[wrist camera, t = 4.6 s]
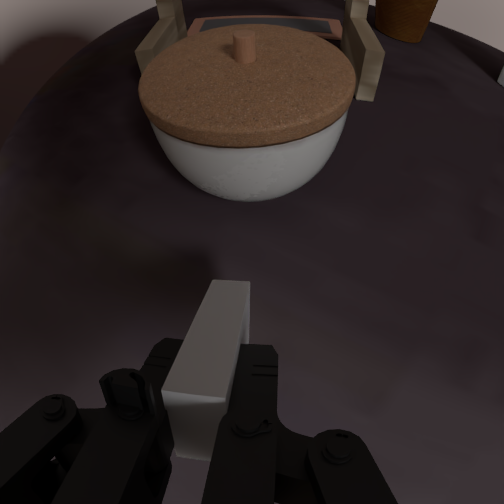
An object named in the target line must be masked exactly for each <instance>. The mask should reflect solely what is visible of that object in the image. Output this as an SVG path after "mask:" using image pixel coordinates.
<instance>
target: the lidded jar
mask: <svg viewBox="0 0 504 504" xmlns="http://www.w3.org/2000/svg"><path fill="white" fill-rule="evenodd" d="M355 85H356V75H355V71H354V68H353V66H352V65H351V63H350V61H349V59H348V58H347V57H346V56H345V55H344V54H343V52H342V51H340V50H339V49H338V48H337V47H336V46H334V45H333V44H331V43H330V42H328V41H326V40H324V39H322V38H320V37H318V36H316V35H314V34H311V33H308V32H305V31H302V30H298V29H294V28H290V27H285V26H278V25H269V24H240V25H231V26H224V27H219V28H214V29H209V30H206V31H203V32H199V33H196V34H194V35H191V36H188V37H186V38H184V39H182V40H180V41H178V42H176V43H174V44H172V45H171V46H169V47H167V48H166V49H164V50H163V51H162V52H160V53H159V54H158V55H157V56H156V57H155V58H154V59H153V60H152V61H151V62H150V63H149V64H148V65H147V67H146V68H145V70H144V72H143V74H142V76H141V78H140V81H139V87H138V93H139V98H140V101H141V104H142V107H143V109H144V111H145V113H146V115H147V117H148V119H149V120H150V122H151V125H152V128H153V130H154V133H155V135H156V138H157V140H158V141H159V143H160V145H161V147H162V149H163V150H164V152H165V154H166V156H167V157H168V159H169V160H170V162H171V163H172V164H173V165H174V167H175V168H176V169H177V170H178V171H179V172H180V173H181V175H182V176H184V177H185V178H186V179H187V180H189V181H190V182H191V183H192V184H194V185H195V186H196V187H198V188H200V189H202V190H203V191H205V192H207V193H210V194H212V195H215V196H218V197H221V198H224V199H228V200H234V201H244V202H252V201H264V200H269V199H274V198H277V197H280V196H283V195H286V194H288V193H290V192H292V191H294V190H296V189H298V188H300V187H301V186H302V185H304V184H305V183H307V182H308V181H310V180H311V179H312V178H313V177H314V176H315V175H316V174H317V173H318V172H319V171H320V170H321V169H322V168H323V166H324V165H325V164H326V162H327V161H328V159H329V158H330V156H331V154H332V153H333V151H334V149H335V147H336V145H337V142H338V140H339V137H340V135H341V133H342V130H343V128H344V124H345V120H346V117H347V112H348V108H349V106H350V104H351V101H352V99H353V96H354V91H355Z"/></svg>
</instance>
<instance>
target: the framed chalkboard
mask: <svg viewBox="0 0 504 504" xmlns="http://www.w3.org/2000/svg"><path fill="white" fill-rule="evenodd" d="M240 24H269V25H278V26H285V27H290V28H294V29H298V30H302V31H305V32H308V33H311V34H314V35H316V36H318V37H320V38H326V39H336V40H341V37H342V29H343V28H342V26H341V24H340V21H339V20H333V19H324V18H313V17H298V16H270V15H250V16H222V17H208V18H196V19H195V20H194V21H193V23H192V25H191V26H190V28H189V30H188V31H187V35H188V36H191V35H194V34H196V33H199V32H203V31H206V30H209V29H214V28H219V27H224V26H231V25H240Z"/></svg>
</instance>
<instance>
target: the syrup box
mask: <svg viewBox="0 0 504 504" xmlns="http://www.w3.org/2000/svg"><path fill="white" fill-rule="evenodd" d="M497 82H498V83H499V84H500V85H501V86H503V87H504V65H503V67H502V70H501V72H500V75H499V77H498V80H497Z"/></svg>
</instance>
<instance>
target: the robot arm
mask: <svg viewBox="0 0 504 504" xmlns="http://www.w3.org/2000/svg"><path fill="white" fill-rule="evenodd" d="M249 315H250V281H230V280H212V282H211V284H210V286H209V288H208V290H207V293H206V295H205V297H204V299H203V301H202V303H201V305H200V307H199V309H198V312H197V314H196V316H195V318H194V320H193V322H192V324H191V326H190V329H189V331H188V333H187V335H186V337H185V339H184V340H181V339H172V338H164V339H163V340H161V341H160V342H159V343H157V344H156V345H154V347H153V349H152V350H151V352H150V354H149V357H147V359H146V361H145V362H144V365H143V366H142V368H141V369H140V371H139V370H135V369H127V368H122V369H117V370H113V371H111V372H109V373H107V374H105V375H104V376H103V377H102V378H101V379H100V380H99V383H100V386H101V389H102V392H103V395H104V398H105V401H106V403H107V405H106V407H105V408H98V409H78V408H77V406H76V404H75V401H73V400H72V399H71V398H70V397H68V396H65V395H62V394H53V395H49V396H46V397H44V398H42V399H41V400H39V401H38V402H37V403H35V404H34V405H33V406H32V407H31V408H29V409H28V410H27V411H26V412H25V413H23V414H22V415H21V416H20V417H18V418H17V419H16V420H15V421H14V422H12V423H11V424H10V425H9V426H8V427H7V428H5V429H4V430H3V431H2V432H1V433H0V504H162V501H163V497H164V494H165V491H166V488H167V484H168V481H169V478H170V475H171V471H172V464H171V461H170V456H171V453H172V450H173V447H174V449H175V453H176V456H179V457H185V458H191V459H198V460H205V461H211V462H210V466H209V471H208V475H207V480H206V484H205V489H204V493H203V498H202V502H201V504H274V502H276V503H279V504H398V503H397V501H396V499H395V497H394V495H393V494H392V492H391V490H390V488H389V486H388V485H387V483H386V481H385V479H384V477H383V475H382V474H381V472H380V470H379V468H378V466H377V464H376V463H375V461H374V459H373V457H372V455H371V453H370V452H369V450H368V448H367V446H366V444H365V443H364V442H363V441H362V440H361V438H360V437H359V436H357V435H355V434H353V433H352V432H349V431H345V430H340V429H336V430H327V431H324V432H321V433H319V434H317V435H316V436H315V437H314V438H312V437H308V436H304V435H301V434H298V433H295V432H292V431H291V430H289V429H288V428H286V427H285V426H284V425H283V424H282V423H281V422H280V420H279V418H278V415H277V386H278V354H277V352H276V351H275V349H274V348H273V346H272V345H257V344H248V343H249ZM54 456H55V457H56V459H54V460H52V461H50V460H51V459H52V458H53V457H54Z"/></svg>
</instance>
